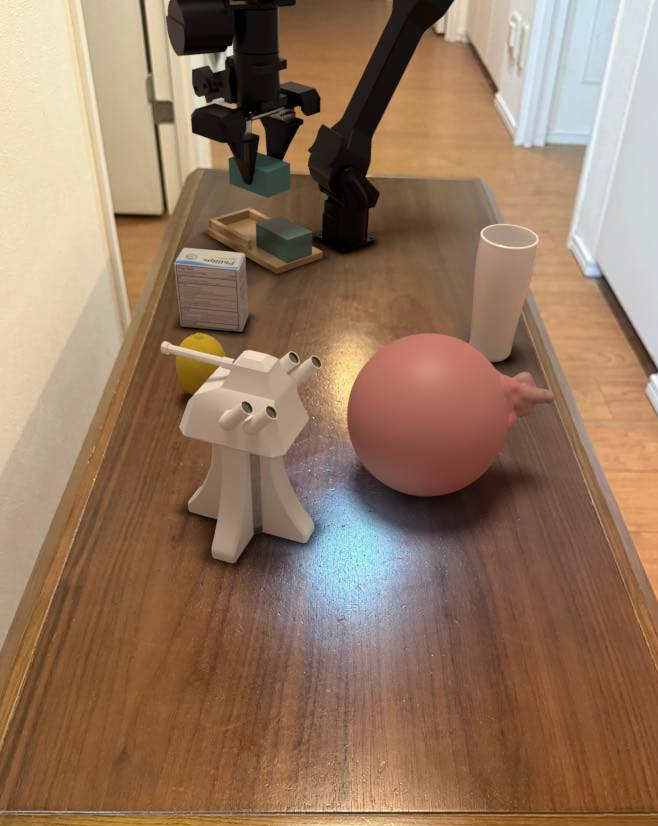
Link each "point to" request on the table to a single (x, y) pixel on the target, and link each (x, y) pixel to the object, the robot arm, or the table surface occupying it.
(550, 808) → the table surface
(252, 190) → the teal rectangular block
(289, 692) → the table surface
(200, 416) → the toy gun turret
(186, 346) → the lemon
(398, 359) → the balloon
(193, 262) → the medicine box
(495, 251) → the drinking glass
